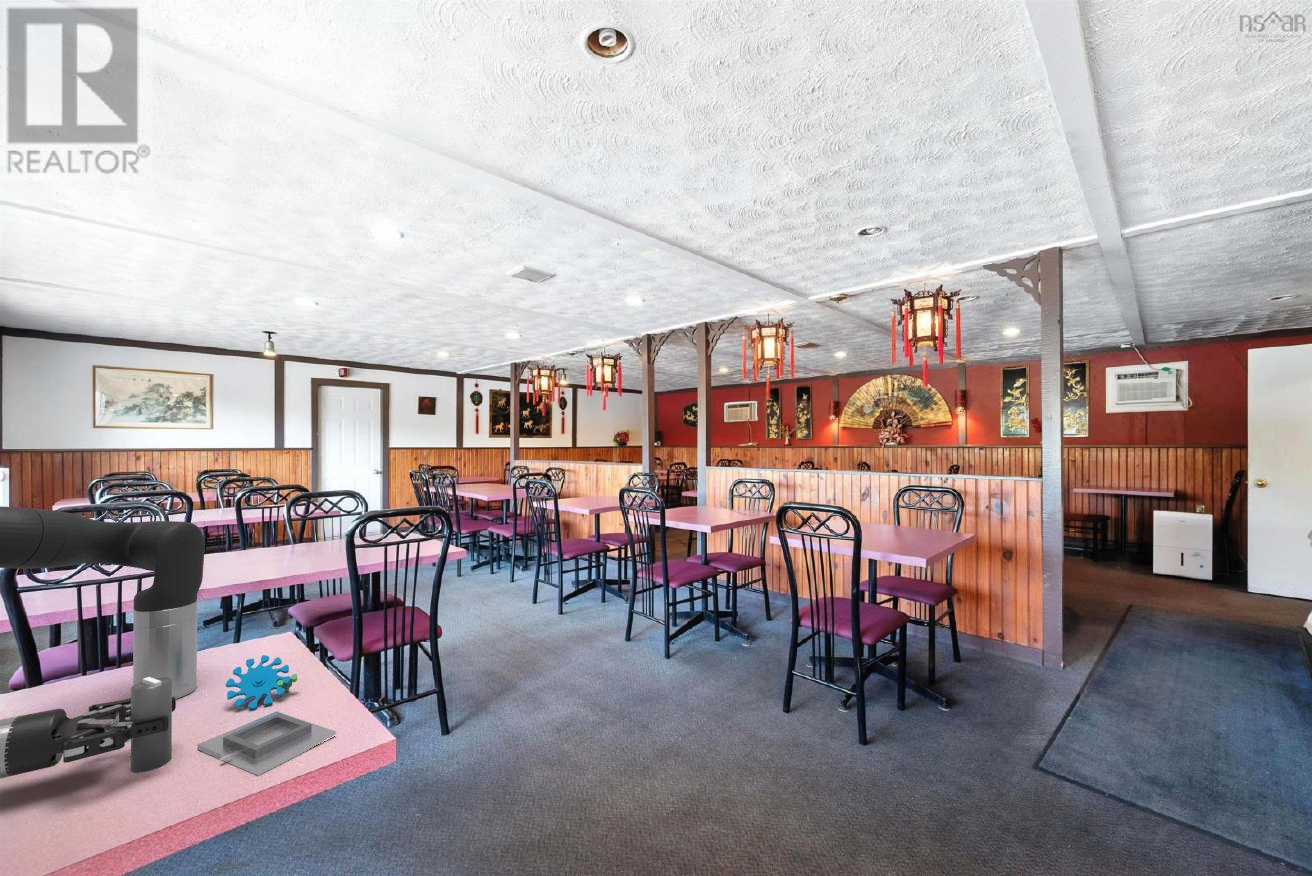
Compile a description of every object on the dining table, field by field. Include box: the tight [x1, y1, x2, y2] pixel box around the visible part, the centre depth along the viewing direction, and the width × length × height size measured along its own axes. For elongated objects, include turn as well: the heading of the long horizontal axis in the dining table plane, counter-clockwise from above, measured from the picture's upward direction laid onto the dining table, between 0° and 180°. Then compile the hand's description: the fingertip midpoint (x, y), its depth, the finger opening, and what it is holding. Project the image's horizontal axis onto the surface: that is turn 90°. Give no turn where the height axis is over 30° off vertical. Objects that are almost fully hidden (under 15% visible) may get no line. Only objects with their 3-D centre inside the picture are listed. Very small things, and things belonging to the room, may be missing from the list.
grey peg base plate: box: [196, 711, 337, 776], centre depth 90 cm, size 16×13×2 cm
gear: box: [225, 654, 298, 711], centre depth 106 cm, size 11×6×10 cm
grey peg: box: [130, 677, 173, 773], centre depth 84 cm, size 5×5×13 cm
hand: (171, 712), depth 86 cm, fingers open, 6 cm apart
